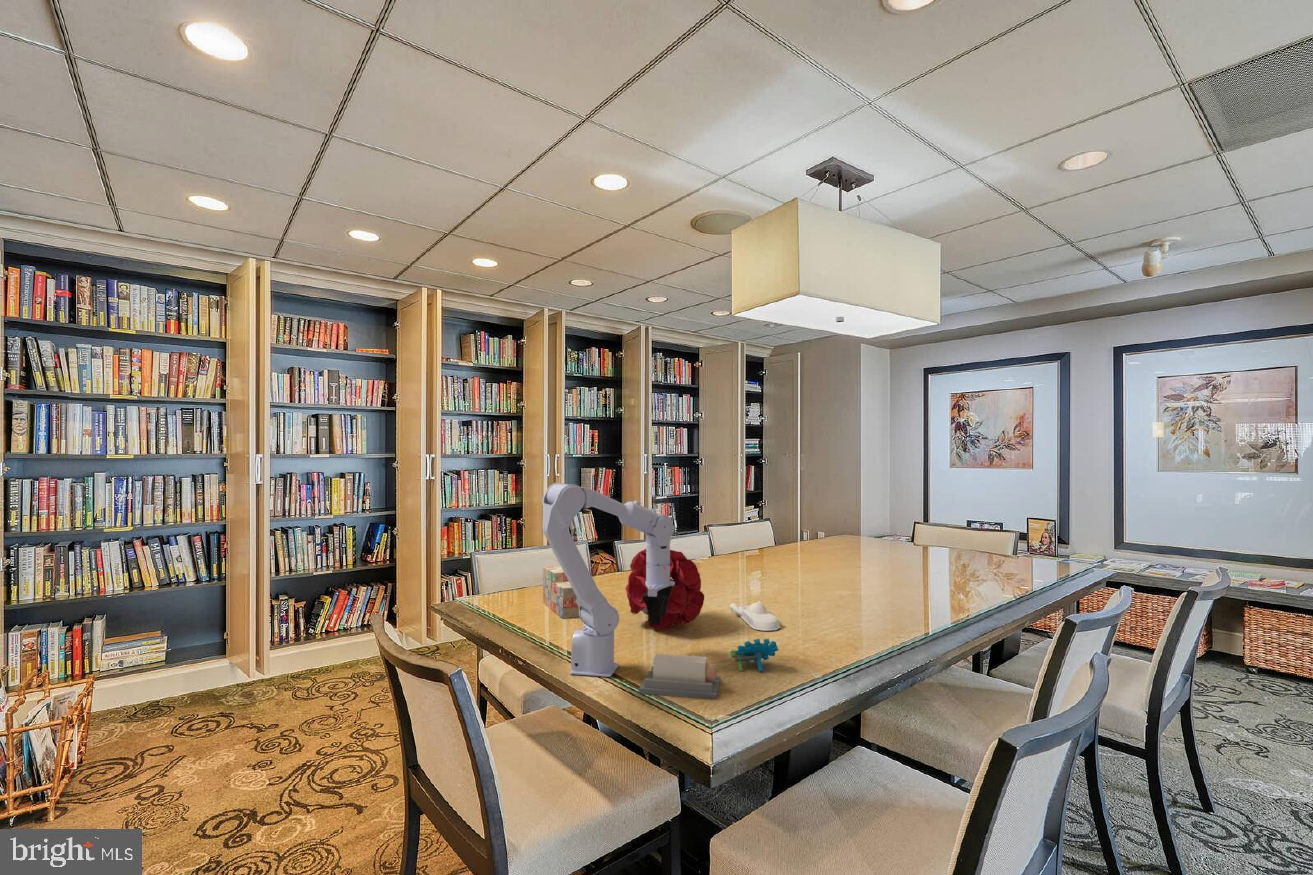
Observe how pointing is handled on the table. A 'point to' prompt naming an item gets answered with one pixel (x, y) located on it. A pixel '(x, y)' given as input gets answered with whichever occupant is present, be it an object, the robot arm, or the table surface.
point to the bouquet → (682, 597)
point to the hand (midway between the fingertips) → (657, 619)
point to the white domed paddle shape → (756, 616)
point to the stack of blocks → (559, 593)
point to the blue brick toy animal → (754, 652)
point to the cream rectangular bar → (683, 668)
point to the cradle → (679, 687)
